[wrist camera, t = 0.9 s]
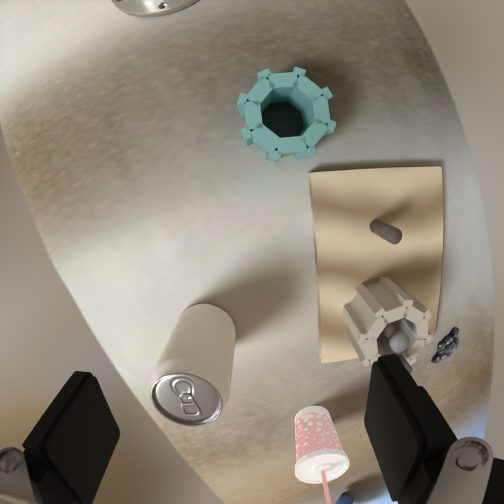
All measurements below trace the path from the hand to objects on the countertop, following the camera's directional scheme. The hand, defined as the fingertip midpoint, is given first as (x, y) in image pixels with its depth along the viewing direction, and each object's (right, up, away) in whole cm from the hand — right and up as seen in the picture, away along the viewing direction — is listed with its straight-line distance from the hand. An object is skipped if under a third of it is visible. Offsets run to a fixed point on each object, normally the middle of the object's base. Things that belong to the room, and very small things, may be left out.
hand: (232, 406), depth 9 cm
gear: (+13, -1, +22) cm, 26 cm away
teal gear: (+3, +17, +19) cm, 25 cm away
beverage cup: (+8, -16, +28) cm, 33 cm away
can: (-4, -3, +24) cm, 25 cm away
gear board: (+14, +4, +22) cm, 26 cm away
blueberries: (+25, -7, +25) cm, 36 cm away
